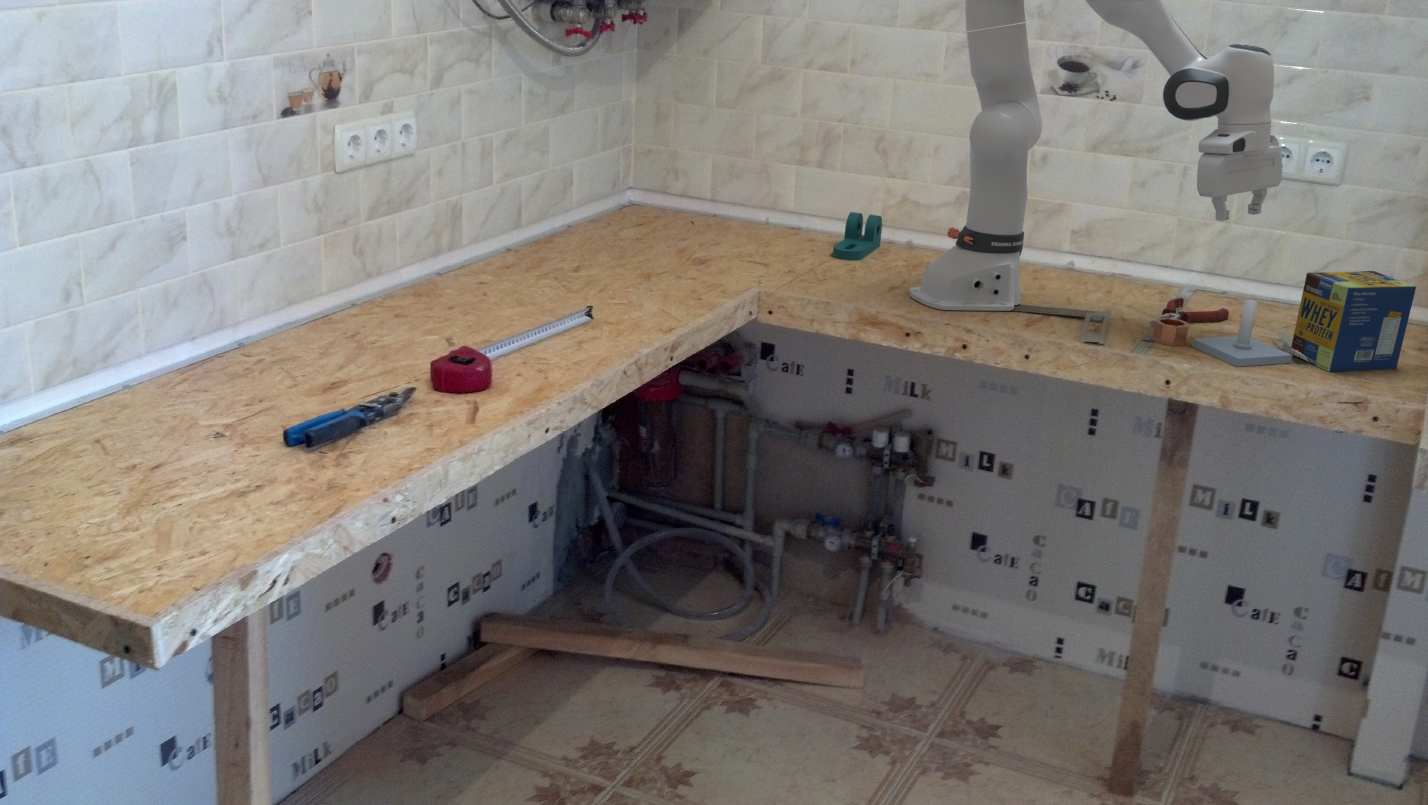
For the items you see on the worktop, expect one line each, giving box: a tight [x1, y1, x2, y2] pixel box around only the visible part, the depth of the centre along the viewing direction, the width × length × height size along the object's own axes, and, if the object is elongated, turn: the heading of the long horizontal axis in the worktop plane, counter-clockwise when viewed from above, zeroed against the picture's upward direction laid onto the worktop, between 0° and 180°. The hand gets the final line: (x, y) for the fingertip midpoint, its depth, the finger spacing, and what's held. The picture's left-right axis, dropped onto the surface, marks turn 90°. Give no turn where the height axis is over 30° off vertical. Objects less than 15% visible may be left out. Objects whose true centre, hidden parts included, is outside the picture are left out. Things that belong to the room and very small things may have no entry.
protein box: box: [1290, 270, 1417, 373], centre depth 243 cm, size 10×15×16 cm
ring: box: [1151, 317, 1191, 347], centre depth 251 cm, size 6×6×4 cm
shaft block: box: [1191, 299, 1293, 368], centre depth 244 cm, size 12×12×10 cm
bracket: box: [832, 211, 883, 262], centre depth 304 cm, size 18×7×8 cm, turn 159°
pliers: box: [1149, 297, 1230, 325], centre depth 266 cm, size 12×20×3 cm, turn 136°
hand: (1238, 217), depth 244 cm, fingers open, 8 cm apart
